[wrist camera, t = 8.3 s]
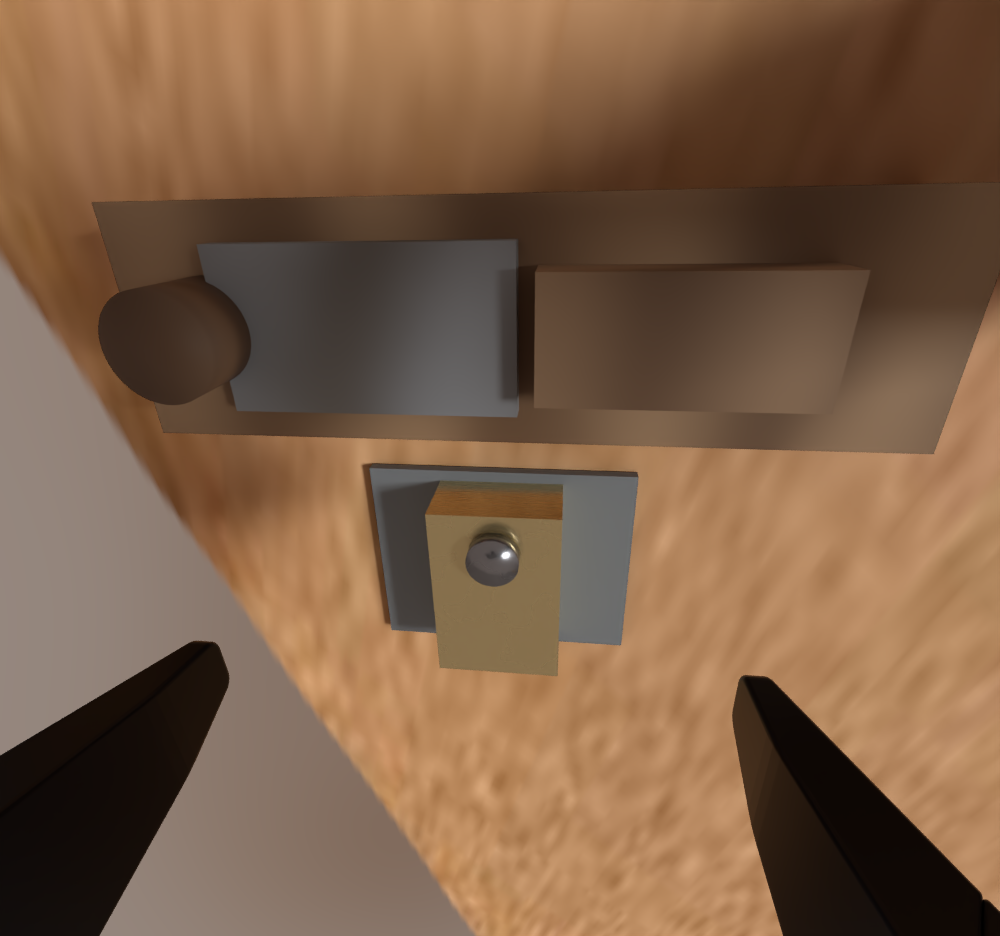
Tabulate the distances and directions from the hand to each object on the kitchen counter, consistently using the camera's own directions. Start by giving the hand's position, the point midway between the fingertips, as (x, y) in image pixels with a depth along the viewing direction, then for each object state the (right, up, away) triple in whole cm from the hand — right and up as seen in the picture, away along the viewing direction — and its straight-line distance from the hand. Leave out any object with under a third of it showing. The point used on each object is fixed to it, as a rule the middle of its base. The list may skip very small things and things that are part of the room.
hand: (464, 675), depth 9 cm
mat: (+1, 0, +13) cm, 13 cm away
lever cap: (+1, 0, +13) cm, 13 cm away
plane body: (+2, +9, +9) cm, 12 cm away
